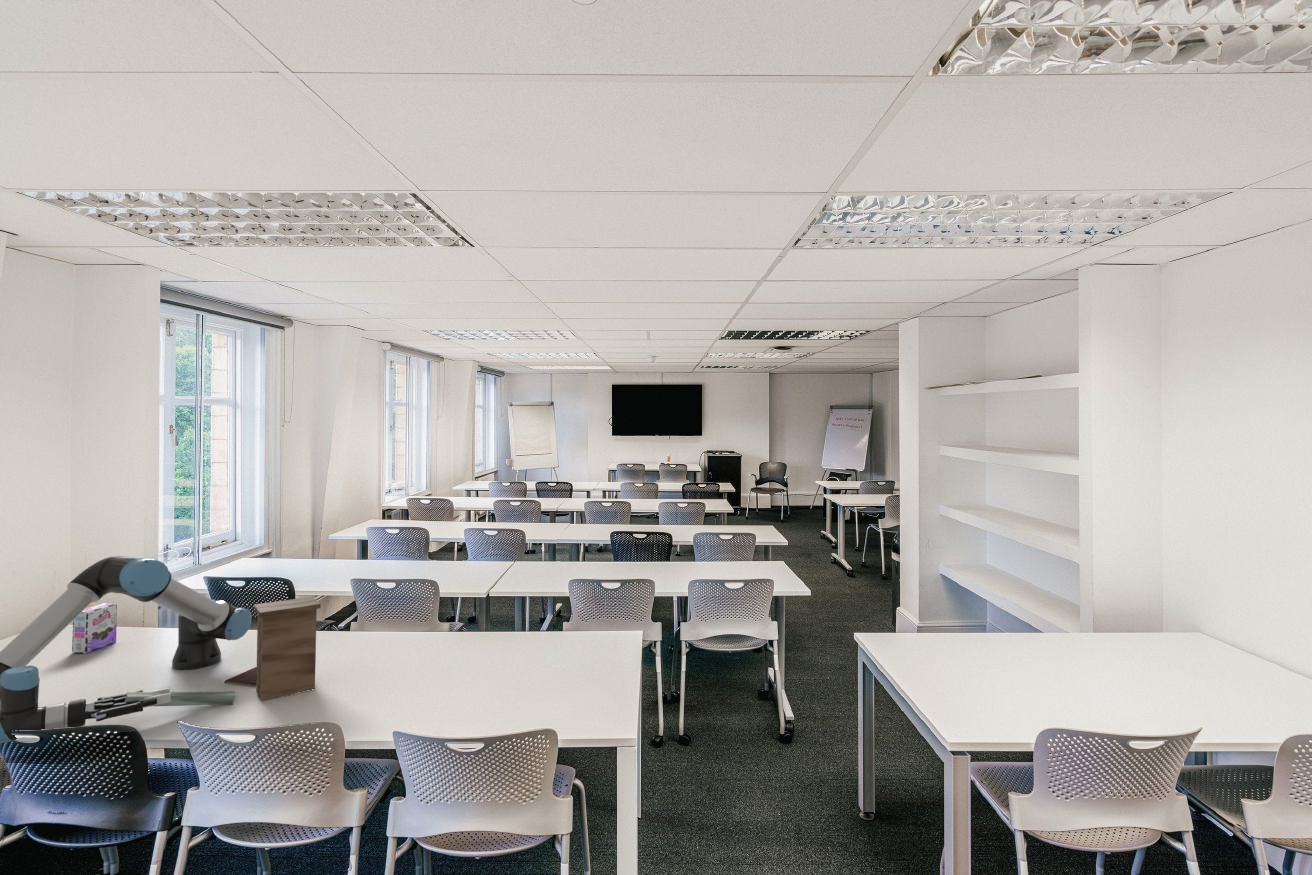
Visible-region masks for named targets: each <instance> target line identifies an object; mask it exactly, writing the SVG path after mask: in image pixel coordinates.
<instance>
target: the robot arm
mask: <svg viewBox="0 0 1312 875" xmlns="http://www.w3.org/2000/svg"><path fill="white" fill-rule="evenodd" d="M66 587H67V589H66V590H65V591H64V592H63V593H62V594H61V595H60V596H59V597H58V598H56V600H54V601H53V602H52V603H51V604H50V605H49V606H48V607H47V608H45V610H44V611H43V612H41V613H40V614H39V615H38V616H37V617H36V618H35V619H34V620H32V622H31V623H30V624H28V625H27V626H26V627H25V628H23V630H22V631H21V632H19V634H18V635H17V636H15V638H13V639H12V640H11V641H10V642H9V643H8V644H7V645H5V647H3V649H1V650H0V744H4V743H8V742H9V743H10V742H11V743H12V742H15V740H16V739H17V738H16V737H15V735H12V734H11V733H12V730H13V731H14V732H15V730H18V731H19V730H41V729H54V728H65V729H66V728H68V727H76V728H79V727H83V726H85V725H86V721H87V720H93V719H95V720H96V722H101V721H104V720H107V719H112V718H117V717H120V716H121V717H122V716H126V715H130V714H134V713H138V712H140V713H141V712H143V711H144V708H148V707H149V708H150V707H155V706H154V705H159V704H164V703H169V702H171V693H166V694H161V695H156V696H151V697H146V698H144V700H136V701H130V702H124V701H125V697H126V694H127V692H126V693H121V694H117V695H116V694H115V695H110V696H103V697H98V698H97V700H96V701H94V702H90V703H87V700H86V699H85V698H81V699H76V700H71V701H69V702H68V703H66V701H65V702H60V703H54V704H49V705H45V706H44V705H43V706H41V707H39V693H40V691H39V689H40V681H41V679H40V676H39V674H40V672H39V668H38V667H37V666H35V665H28V664H29V663H31V661H33V660H34V659H35V658H36V657H37V656H39V654H40V653H41V652H42V651H43V650H44V649H45V648H46V647H47V646H48V645H49V644H50V643H51V642H53V641H54V639H56V637H58V636H59V634H60V633H62V632H63V630H65V629H66V628H67V627H68V626H69V625H70V624H71V623H73V620H74V619H75V618H76V617H77V616H78V615H79V614H80V613H81V612H82V611H83V610H84V609H87V608H88V607H89V606H90V605H91V604H92V603H97V602H98V601H100V600H101V599H102V598H103V597H105V596H106V595H107V594H110V593H113V594H122V595H125V596H126V595H127V596H129V597H130V598H133V599H135V600H137V601H139V602H141V603H148V602H149V603H150V602H153V603H156V604H157V605H160V606H161V607H164V608H166V609H168V610H170V611H172V612H175V613H176V614H178V617H177V618H178V632H177V633H178V635H177V636H178V638H177V639H178V642H177V643H178V644H177V647H176V650H175V653H174V655H173V657H172V660H171V667H172V668H173V669H175V670H193V669H194V670H195V669H200V668H204V667H208V666H211V665H214V664H216V663H218V662H219V661H221V660H222V652H221V648H220V647H219V644H218V642H217V639H220V640H227V641H236V640H237V641H238V640H240V639H241V638H242V637H244V636H245V635H246V633H248V632H249V629H250V627H251V624H252V614H251V612H250V610H249V609H247V608H244V607H236V606H234V605H232V604H231V603H228V602H226V601H224V600H216V599H211V598H209V597H208V596H205V595H204V594H202V593H200V592H198V591H196V590H194V589H193V588H191V587H189V586H187V585H185V584H183V583H181V582H180V581H178V580H176V579H174V578H173V576H172V573H171V572H170V570H169V568H168V565H166V564H165V563H164V562H163V561H160V560H158V559H155V558H151V557H133V556H132V557H131V556H122V555H114V556H110V557H106V558H102V559H100V560H98V561H96V562H95V563H93V564H91V565H90V566H88V567H87V568H86V569H83V571H81V572H80V573H79V574H78V575H77V576H75V577H74V578H73V579H72V580H71V581H70V582H69V583H68V584H67V586H66ZM136 692H144V690H143V689H140V690H138V691H136ZM149 692H171V687H167V688H162V689H161V688H160V689H155V690H151V691H149ZM16 741H17V740H16Z"/></svg>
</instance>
